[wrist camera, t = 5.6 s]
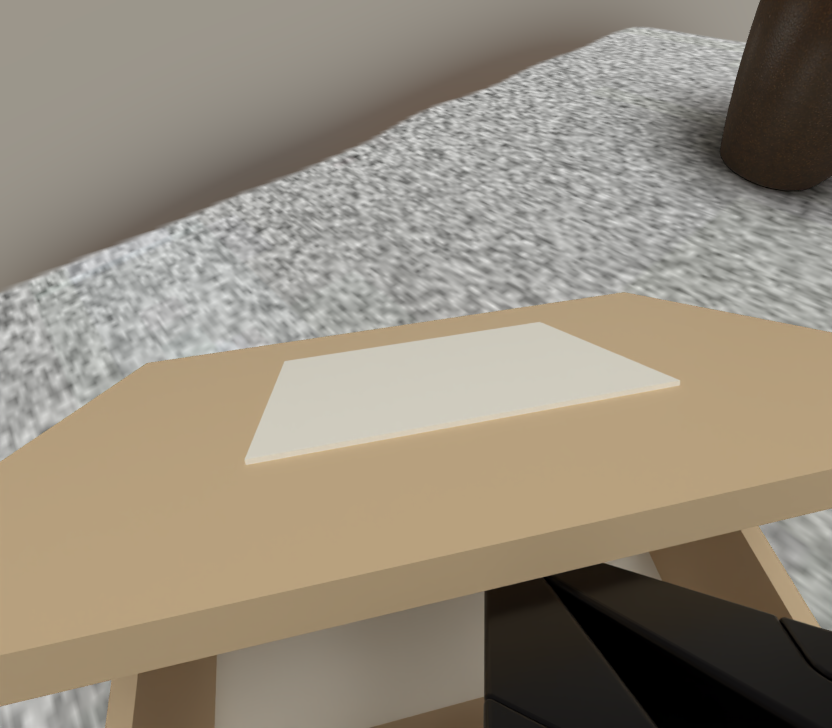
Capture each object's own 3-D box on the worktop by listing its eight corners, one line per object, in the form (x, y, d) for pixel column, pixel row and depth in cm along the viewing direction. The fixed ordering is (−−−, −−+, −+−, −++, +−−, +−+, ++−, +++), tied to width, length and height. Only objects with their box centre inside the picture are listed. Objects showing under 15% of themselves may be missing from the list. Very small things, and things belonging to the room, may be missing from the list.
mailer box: (704, 655, 16) (839, 658, 11) (199, 796, 14) (84, 879, 9) (575, 383, 23) (624, 307, 18) (214, 447, 20) (152, 380, 15)
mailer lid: (1142, 434, 6) (1162, 389, 6) (-384, 797, 4) (-440, 744, 4) (623, 307, 18) (624, 289, 17) (151, 379, 15) (146, 360, 15)
